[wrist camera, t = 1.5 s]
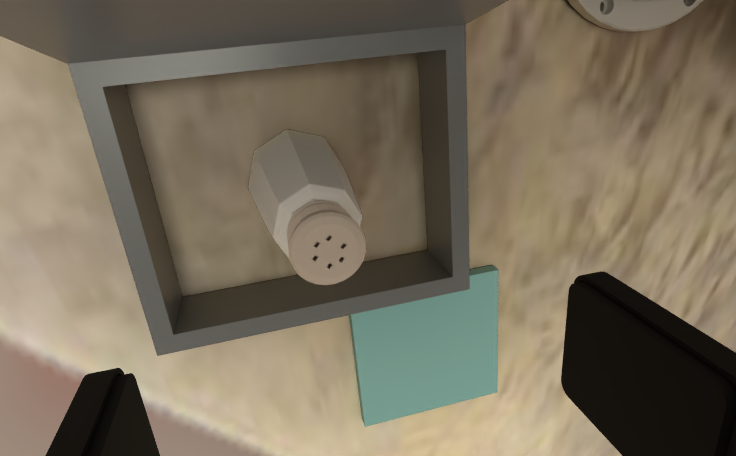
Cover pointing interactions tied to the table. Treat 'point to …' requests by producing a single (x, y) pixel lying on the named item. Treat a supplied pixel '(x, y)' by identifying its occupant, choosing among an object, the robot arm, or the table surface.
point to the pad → (428, 351)
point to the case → (294, 294)
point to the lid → (211, 23)
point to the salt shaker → (308, 206)
